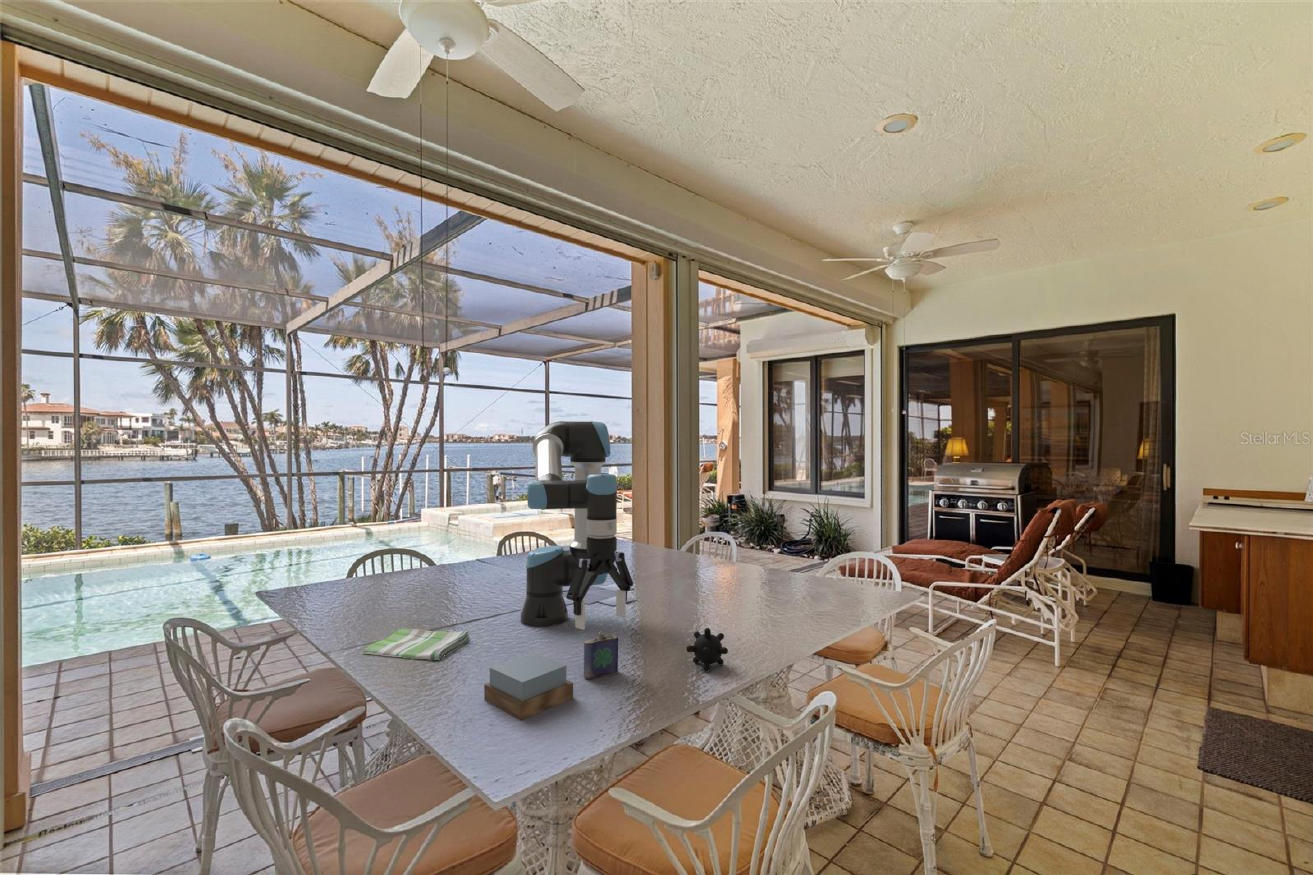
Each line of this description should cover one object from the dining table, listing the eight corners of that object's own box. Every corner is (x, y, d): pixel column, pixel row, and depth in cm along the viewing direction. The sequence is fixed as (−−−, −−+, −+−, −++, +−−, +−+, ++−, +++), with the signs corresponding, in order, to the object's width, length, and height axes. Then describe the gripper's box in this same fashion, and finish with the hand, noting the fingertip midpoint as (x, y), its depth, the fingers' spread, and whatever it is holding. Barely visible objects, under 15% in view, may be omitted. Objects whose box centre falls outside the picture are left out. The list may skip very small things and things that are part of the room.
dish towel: (437, 664, 148) (437, 650, 148) (361, 657, 153) (361, 643, 153) (471, 641, 165) (471, 629, 165) (401, 635, 170) (401, 624, 170)
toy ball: (737, 648, 150) (736, 652, 139) (709, 677, 150) (705, 683, 138) (710, 617, 154) (706, 619, 142) (681, 645, 153) (676, 649, 142)
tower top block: (533, 669, 135) (533, 652, 135) (566, 683, 127) (566, 665, 127) (489, 685, 126) (489, 667, 126) (522, 701, 118) (522, 682, 118)
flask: (585, 680, 137) (586, 636, 137) (581, 676, 139) (581, 632, 139) (619, 673, 141) (620, 630, 142) (614, 669, 144) (615, 626, 144)
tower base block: (535, 682, 137) (536, 666, 137) (573, 700, 127) (573, 682, 128) (484, 702, 126) (484, 684, 127) (520, 723, 117) (520, 703, 117)
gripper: (572, 543, 129) (571, 637, 128) (646, 532, 147) (646, 614, 147) (551, 540, 134) (551, 630, 133) (626, 529, 152) (626, 608, 152)
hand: (601, 621), depth 140 cm, fingers open, 13 cm apart
